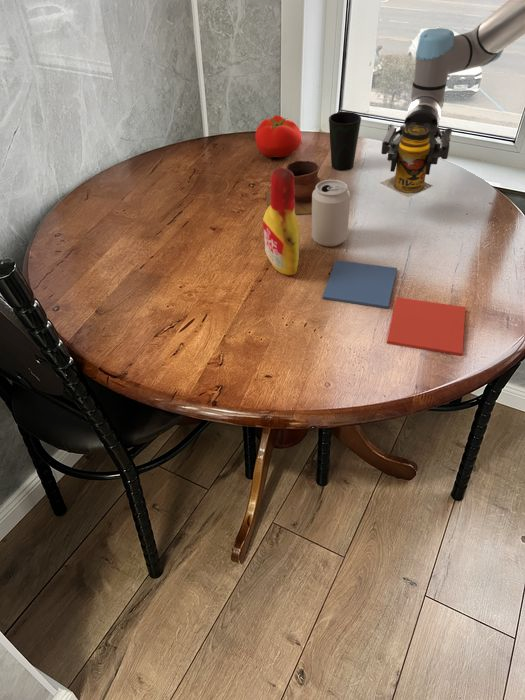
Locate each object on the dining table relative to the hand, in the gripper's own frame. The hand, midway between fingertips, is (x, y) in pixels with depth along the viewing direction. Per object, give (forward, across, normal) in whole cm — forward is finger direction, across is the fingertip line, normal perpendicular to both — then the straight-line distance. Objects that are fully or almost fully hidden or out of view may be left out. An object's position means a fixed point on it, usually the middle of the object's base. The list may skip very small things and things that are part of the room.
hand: (410, 166), depth 106 cm
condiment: (-5, +1, -7) cm, 8 cm away
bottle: (+19, +21, -14) cm, 31 cm away
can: (+8, +14, -14) cm, 21 cm away
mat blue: (+22, +5, -14) cm, 26 cm away
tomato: (-30, +36, -14) cm, 49 cm away
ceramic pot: (-9, +24, -14) cm, 29 cm away
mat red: (+31, -8, -14) cm, 35 cm away
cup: (-26, +18, -14) cm, 35 cm away
